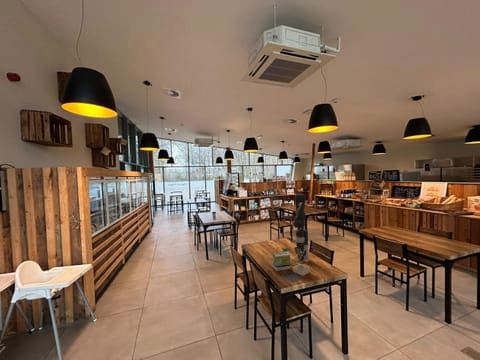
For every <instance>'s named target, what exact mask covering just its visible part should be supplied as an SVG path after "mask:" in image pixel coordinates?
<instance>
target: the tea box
mask: <svg viewBox="0 0 480 360" xmlns="http://www.w3.org/2000/svg"><path fill="white" fill-rule="evenodd" d="M272 268H273V269H274V270H275V271H276V272H278V271H285V270H290V269H291V255H290V254H289V253H288V252H287V251H284V252H283V251H282V252H273V253H272Z"/></svg>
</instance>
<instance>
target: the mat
mask: <svg viewBox="0 0 480 360" xmlns="http://www.w3.org/2000/svg"><path fill="white" fill-rule="evenodd" d="M280 278H282V279H284V280H285V281H288V282H290V283H292V284H293V283H296V282H297V281H299V280H301V279H302V278H304V276H302V275H300V274H297V273H295V272H292V271H289V272H287V273H285V274H283V275H281V276H280Z"/></svg>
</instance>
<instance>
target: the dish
mask: <svg viewBox="0 0 480 360" xmlns="http://www.w3.org/2000/svg"><path fill="white" fill-rule="evenodd" d="M292 269H293V272H292V273H295V274H297V275H299V276H302V277H304V276H306V275H307V274H309V273H311V268H310V266H307V265H305V264H303V265H302V264H299V263H298V264H297V265H295V266H292Z"/></svg>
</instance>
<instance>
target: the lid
mask: <svg viewBox="0 0 480 360" xmlns="http://www.w3.org/2000/svg"><path fill="white" fill-rule="evenodd" d="M301 256H302V255H301V253H299V259H298V256H297V257H295V258H292V259H291V261H292V262H295V263H298V265H299V264H302V265H305V264H307V263H309V262H310V261H311V259H310V258H309V259H306V258H304V259H303V260H302V257H301Z"/></svg>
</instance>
